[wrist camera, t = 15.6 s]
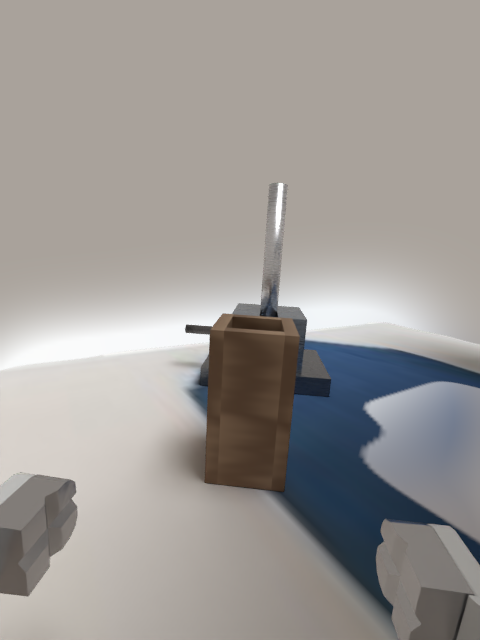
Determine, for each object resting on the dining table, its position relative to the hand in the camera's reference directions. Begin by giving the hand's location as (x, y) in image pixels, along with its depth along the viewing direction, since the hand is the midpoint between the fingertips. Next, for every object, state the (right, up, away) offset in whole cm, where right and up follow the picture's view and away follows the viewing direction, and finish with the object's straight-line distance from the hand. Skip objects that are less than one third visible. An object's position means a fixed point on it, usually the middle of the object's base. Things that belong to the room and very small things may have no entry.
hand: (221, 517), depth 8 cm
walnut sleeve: (+1, -5, +13) cm, 14 cm away
